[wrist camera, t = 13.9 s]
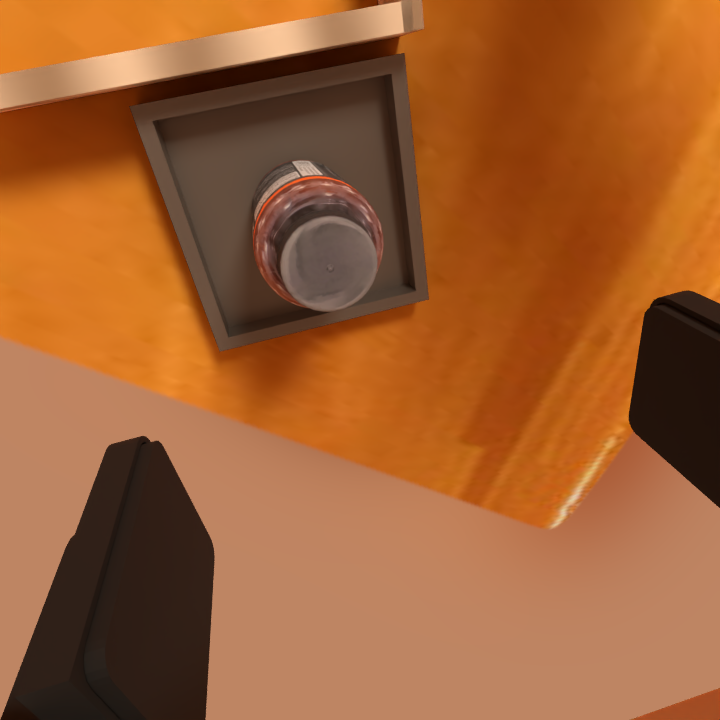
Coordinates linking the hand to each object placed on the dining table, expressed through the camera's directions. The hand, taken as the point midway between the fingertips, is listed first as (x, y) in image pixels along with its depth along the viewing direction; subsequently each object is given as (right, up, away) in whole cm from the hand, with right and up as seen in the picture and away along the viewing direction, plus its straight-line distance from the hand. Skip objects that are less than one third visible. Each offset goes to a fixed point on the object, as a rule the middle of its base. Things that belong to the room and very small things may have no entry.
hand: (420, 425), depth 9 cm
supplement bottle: (-5, +10, +20) cm, 23 cm away
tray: (-5, +10, +20) cm, 23 cm away
